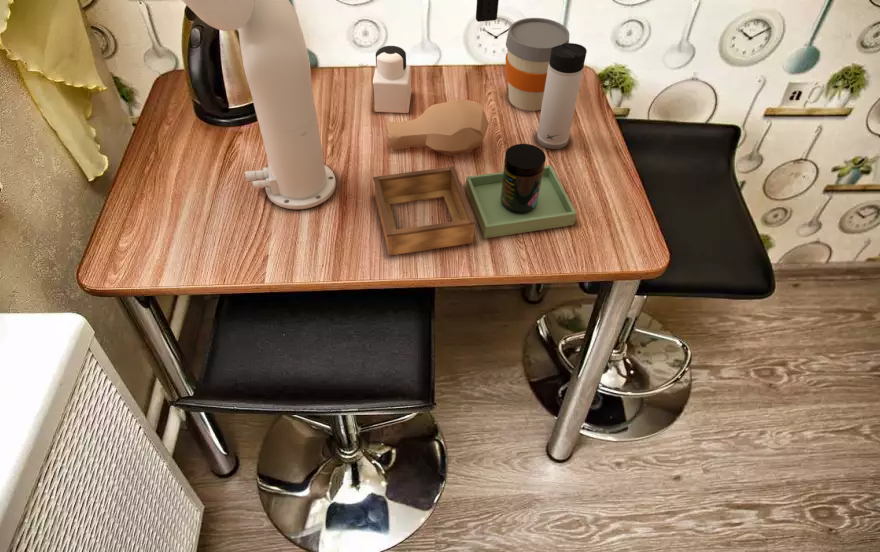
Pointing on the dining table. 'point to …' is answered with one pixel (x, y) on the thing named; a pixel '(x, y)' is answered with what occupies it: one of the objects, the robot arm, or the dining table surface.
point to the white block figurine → (391, 81)
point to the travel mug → (560, 94)
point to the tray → (500, 221)
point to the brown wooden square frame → (424, 188)
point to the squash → (442, 128)
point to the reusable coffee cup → (531, 59)
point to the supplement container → (522, 178)
